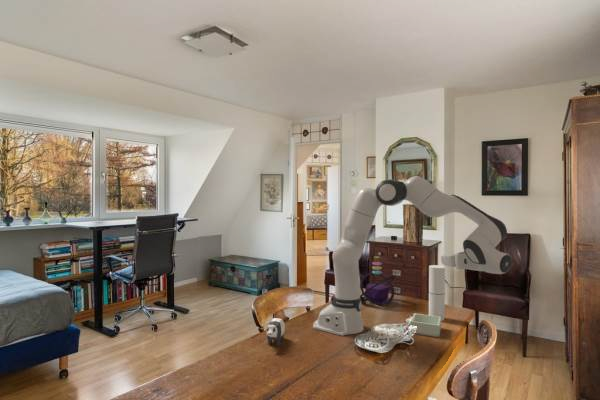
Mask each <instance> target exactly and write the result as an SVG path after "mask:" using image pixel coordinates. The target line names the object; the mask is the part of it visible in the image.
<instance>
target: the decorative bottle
mask: <svg viewBox="0 0 600 400" xmlns="http://www.w3.org/2000/svg"><path fill="white" fill-rule="evenodd" d="M373 259H374V260H373V261H372V265H373V266H372V267H371V268H372V269H373V270H372V272H368V273H366V274H365V275H363V276H362V277H361V278H360V292H361V294H360V297H361V301H362V300H363V299H366V300H367V301H369V303H371V304H374V305H376V306H386V305H389V304H390V303H391V302H392V301H393V300H394V297H395V288H394V285H393V284H392V282H393V281H395V279H396V277H397V276H396V275H392V276H389V277H386V276H385V275H383V272H382V271H381V270H382V269H383V267H382V266H381V265H383V263H382V262H381V256H374V255H373ZM368 276H378V277H381V278H383V280H381V281H379V282H378V281H377V282H378V283H367V285H366V287H365V290H364V288H363V287H364V286H363V283H364V281H365V279H366V278H368ZM385 282H386V283H385ZM382 283H385V284H382ZM388 285H389V286H388ZM390 289H391V295H390V297H389V292H390ZM388 298H389V299H388ZM387 299H388V300H387ZM386 300H387V301H386Z"/></svg>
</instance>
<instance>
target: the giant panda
mask: <svg viewBox="0 0 600 400" xmlns="http://www.w3.org/2000/svg"><path fill="white" fill-rule="evenodd" d="M285 325H286V324H285V322H284V320H283V318H279V317H275V318H272V319H271V321H270V322H269V323H268V326H267V328H266V335H267V346H271V345H272V344H273V340H275V346H277V347H279V346H281V340H282V341H283V340H284V336H285V335H284V334H285V331H286V326H285Z"/></svg>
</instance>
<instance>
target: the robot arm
mask: <svg viewBox="0 0 600 400" xmlns="http://www.w3.org/2000/svg"><path fill="white" fill-rule="evenodd" d="M403 201H408V202H410V203H411V204H412V205H413V206H415V207H416V208H417V209H418V210H419V211H420V212H421V213H422V214H423V215H425V216H426V217H429V218H439V217H443V216H446V215H448V214H452V213H459V214H462V215H463V216H465V217H466V218H468V219H470V220H471V221H473V222H474V223H476V224H477V227H476V228H475V229H474V230H473V231H472V232H471V233H470V234H469V235H468V236H467V237H466V238H465V239H464V240H463V242H462V248H463V251H461V252H458V253H452V254H451V253H450V254H442V255H441V256H440V262H441V264H442V266H448V267H452V268H456V270H470V271H478V272H484V273H488V274H493V275H495V274H496V275H502V274H506V273H508V272H509V271H510V270H511V268H512V265H513V259H512V258H513V257H512V256H511V255H510V254H509V253H505V252H502V251H499V250H498V249H497V248H496V247H497V246H498V245H499V244H500V243H501V242H502V241H504V240H505V239H506V238H507V237H508V229H507V227H506V224H505V223H504V222H503V221H502V220H500V219H498V218H497V217H494V216H492V215H489V213H488V214H487V212H484V211H483V210H481V209H480V208H479V207H477V206H475V205H474V204H472V203H471V202H469V201H467V200H466V199H464V198H462V197H461V196H458V195H456V194H448V193H444V192H443V191H440V190H439V189H438V188H437V187H436V186H434V185H433V184H432V183H430V182H429V181H427V180H426V179H425V178H423V177H421V176H419V175H414V176H411V177H409V178H408V179H406V181H398V180H396V179H384V180H382V181H380V182H379V183H378V184H377V185H376V188H371V187H363V188H362V189H360V190H359V192H358V193H357V195H356V197H355V199H354V201H353V203H352V205H351V207H350V210H349V213H348V215H347V219H346V221H345V224H344V227H343V231H342V235H341V238H340V241H339V243H338V244H337V245H336V246H335V247H334V249H333V250H332V251H333V252H332V256H331V258H332V264H333V272H334V294H332V296H331V298H330V299H329V302H330V304H328V305H327V306H325V307H324V308H323V309H322V310H321V311H320V312H319V315H318V318H317V319H316V320H315V321H314V322H313V323H312V324H313V325H312V327H313V329H314V330H318V331H323V332H326V333H329V334H334V335H337V336H342V337H343V336H347V335H353V334H359V333H361V332H363V331H364V324H363V320H362V319H363V318H362V314H361V311H362V300H361V297H360V295H361V288H360V282H361V278H360V277H361V276H360V267H359V266H360V265H359V262H360V261H359V260H360V259H361V258H362V254H363V252H364V249H365V246H366V243H367V240H368V237H369V234H370V231H371V229H372V226H373V223H374V221H375V217H376V215H377V213H378V211H379V209H380V207H381V206H382V205H384V206H390V207H393V206H397V205H399V204H401V203H402V202H403Z"/></svg>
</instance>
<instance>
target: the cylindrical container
mask: <svg viewBox="0 0 600 400" xmlns="http://www.w3.org/2000/svg"><path fill="white" fill-rule="evenodd" d="M445 293H446V267H445V265H438V264H430V265H429V266H428V315H431V316H438V317H441V322H442V321H443V322H444V319H445V313H446V311H445V310H446V309H445V308H446V307H445V306H446V304H445V303H446V301H445V299H446V298H445V297H446V294H445Z"/></svg>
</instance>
